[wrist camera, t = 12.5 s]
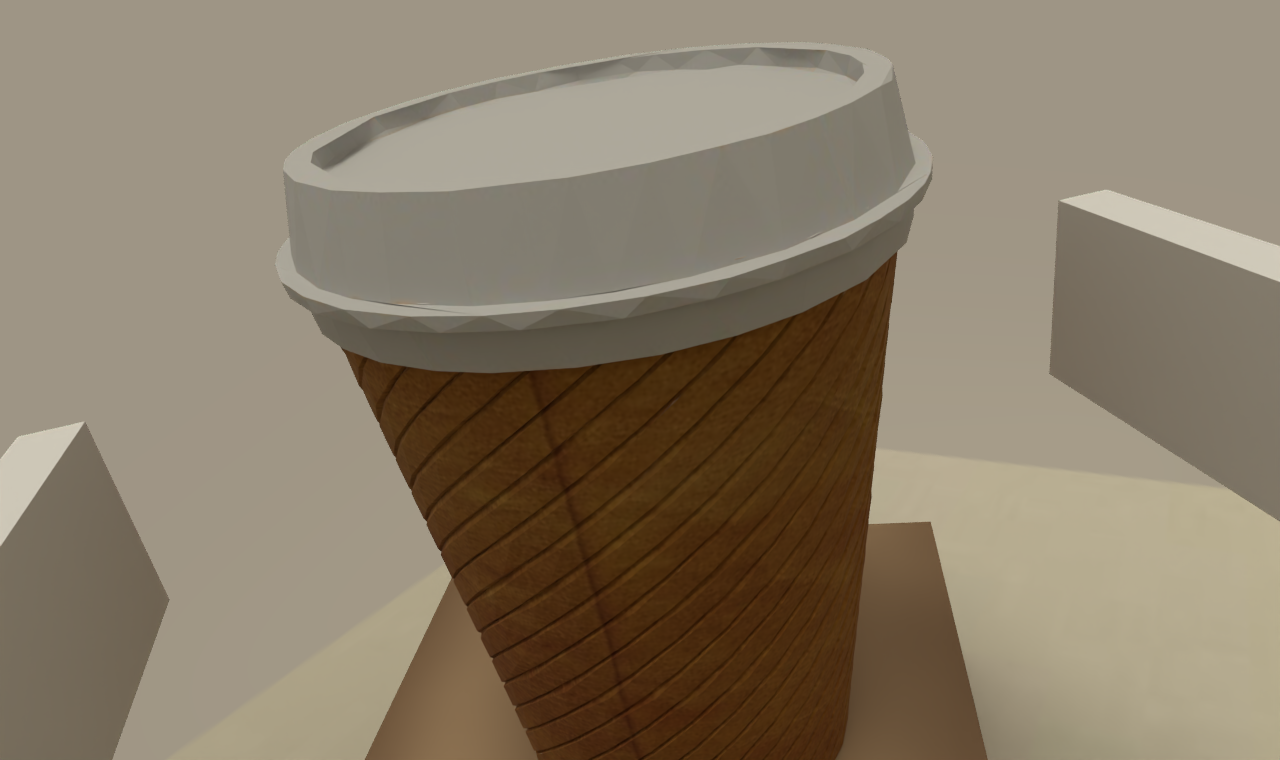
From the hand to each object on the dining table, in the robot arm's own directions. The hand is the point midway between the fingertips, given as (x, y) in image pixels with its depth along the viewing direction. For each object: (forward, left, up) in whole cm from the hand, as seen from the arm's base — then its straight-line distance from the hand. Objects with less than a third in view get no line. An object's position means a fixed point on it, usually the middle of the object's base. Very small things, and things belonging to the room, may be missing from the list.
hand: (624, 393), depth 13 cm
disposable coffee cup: (0, +3, -9) cm, 9 cm away
